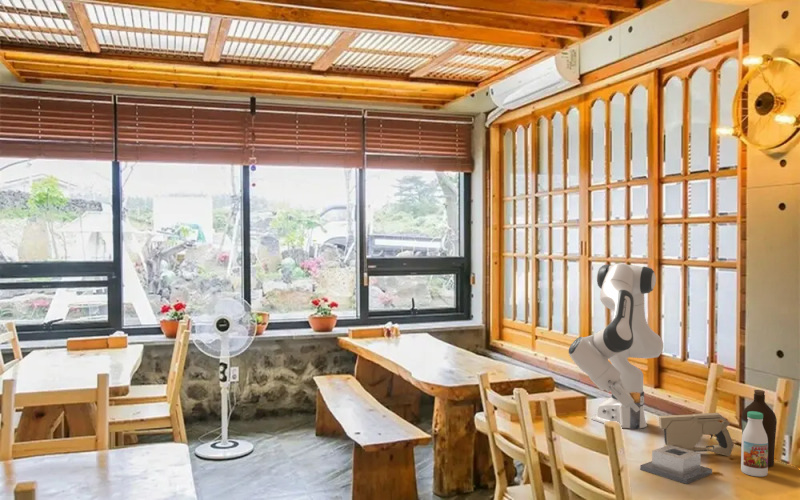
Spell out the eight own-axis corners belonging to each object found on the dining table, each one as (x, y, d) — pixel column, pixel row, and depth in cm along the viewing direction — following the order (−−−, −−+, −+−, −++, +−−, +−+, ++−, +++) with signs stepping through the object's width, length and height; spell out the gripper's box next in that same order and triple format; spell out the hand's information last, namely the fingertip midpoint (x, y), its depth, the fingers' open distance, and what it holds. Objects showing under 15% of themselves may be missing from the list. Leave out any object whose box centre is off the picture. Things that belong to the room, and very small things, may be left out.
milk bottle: (735, 470, 215) (736, 410, 215) (752, 468, 218) (753, 408, 217) (755, 478, 208) (756, 416, 208) (773, 475, 210) (774, 414, 210)
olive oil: (764, 457, 228) (766, 387, 228) (782, 468, 218) (783, 394, 218) (734, 457, 228) (736, 387, 228) (750, 467, 218) (752, 393, 218)
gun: (731, 453, 233) (727, 411, 233) (734, 456, 230) (731, 414, 230) (661, 456, 235) (658, 415, 235) (664, 459, 232) (661, 417, 232)
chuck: (640, 469, 214) (640, 450, 214) (666, 460, 224) (666, 441, 224) (686, 484, 202) (687, 463, 202) (712, 473, 212) (712, 453, 212)
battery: (627, 427, 219) (628, 392, 219) (633, 426, 221) (633, 391, 221) (636, 430, 216) (636, 394, 216) (641, 428, 218) (642, 393, 218)
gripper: (617, 378, 210) (649, 410, 208) (611, 366, 230) (639, 395, 228) (603, 391, 211) (634, 423, 209) (598, 378, 231) (626, 407, 229)
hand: (637, 408), depth 218 cm, fingers closed on battery, 3 cm apart
